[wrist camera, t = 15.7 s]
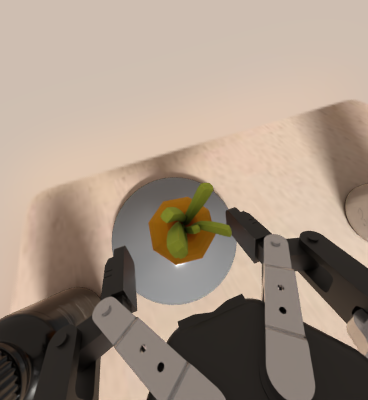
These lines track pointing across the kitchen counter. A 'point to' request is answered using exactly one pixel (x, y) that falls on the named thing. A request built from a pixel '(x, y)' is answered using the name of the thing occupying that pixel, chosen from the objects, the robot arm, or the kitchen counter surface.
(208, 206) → the slate plate
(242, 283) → the kitchen counter surface
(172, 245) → the carrot
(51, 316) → the supplement bottle
